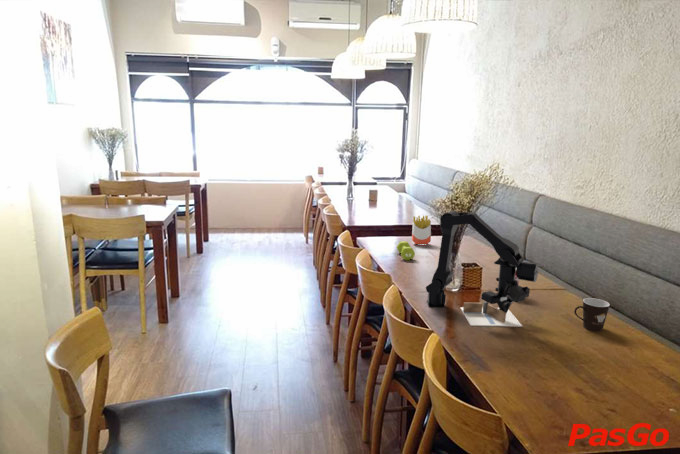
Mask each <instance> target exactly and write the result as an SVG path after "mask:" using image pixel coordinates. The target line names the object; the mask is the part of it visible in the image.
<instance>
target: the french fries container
mask: <svg viewBox="0 0 680 454" xmlns="http://www.w3.org/2000/svg"><path fill="white" fill-rule="evenodd" d="M431 223H432V221H431V219H430V218H429V217H428V215H422V217H421V215H418V217H416V216H413V219H412V229H411V230H412V231H411V241H412V242H413V243H414V244H415V245H416V244H427V245H428V244H430V243H431V241H432V231H431V229H432V226H431V225H432V224H431Z"/></svg>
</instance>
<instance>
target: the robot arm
mask: <svg viewBox="0 0 680 454" xmlns="http://www.w3.org/2000/svg"><path fill="white" fill-rule="evenodd" d="M439 221H440V223H439V224H440V230H441V233H442V234H441V242H440V248H439V256H438V262H437V268H436V269H435V271H434V274H433V277H432V279H431V283H429V284H428V285H427V286H426V287H425V290H426V293H427V299H426V303H427V305H428V307H429V308H445V306H446V305H445V304H446V296H447V295H446V293H445V289H446V288H447V287H448V286H449V285H451V283H452V282H453V276H454V271H451V269H450V264H451V257H452V251H453V245H454V244H453V243H454V238H455V237H454V236H455V233H456V232H457V229H458V227H459V225H469V226H470V227H471V228H473V229H474V230H475V231H476V232H477V233H478V234H479V235H480V236H481V237H483V239H485V240H486V241H487V242H488V243H489V244H491V246H492V248H494V251H495V253H496V254H497V255H498V256H499V258H497V259H496V261H494V262H493V264H494V265H499V269H498V270H499V271H498V272H499V273H498V277H495V280H496V281H497V282H498V284H497V287H495V292H494V291H492V290H488V291H484V292H482V293H481V297H480V298H481V300H483V302H488V304H490V305H495V304H497V306H498V308H499V309H500V310H502V311H504V312H506V313H507V311H508V309H509V310H510V307H511V305H512V304H513V303H517V304H518V303H520V302H524V301H525V300H526V298H529V297H530V294H531V293H530V292H531V291H530V290H531V289H530V287H528V286H521V285H519V286H518V282H517V280H515V272H516V276H517V278H519V280H522V281H527V282H533V283H536V281H537V279H538V275H539V270H538V269H539V268H538V263H537V262H528V261H525V260H524V257H522V254H521V253H520V250H519V247H518V245H517V244H516V243H514V242H513V241H511V240H510V239H507V238H506V237H504V236H502V235H500V234H499V233H498V232H497V231H496V230H494V229H493V228H492V227H491V226H490V225H489V224H488V223H486V222H485V221H484V220H483V219H482V218H481V217H480V216H479V215H478V214H477V213H476V212H475V211H474V212H472V211H471V212H457V211H455V210H451V211H448V212H445V213H443V214H441V216H440V219H439ZM516 268H517V269H516Z"/></svg>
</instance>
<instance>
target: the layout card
mask: <svg viewBox="0 0 680 454" xmlns="http://www.w3.org/2000/svg"><path fill="white" fill-rule="evenodd" d="M459 308H460V310H461V312H462V313H463V315H464V317H465V319H466V320H467V322H468V324H469V326H471V327H511V328H512V327H515V328H516V327H517V328H518V327H520V328H522V327H523V324H521V323H520V321H519V320H518V319H517V318H516V316H515V315H514V314H513V313H512V311H511V310H510V308H509V309H508V311H507V313H506V319H505V322H502V321H500V320H498V319H496V318H494V317H492V316H490V315H489V314H484V313H483V307H482V312H464V311H463V309H464V306H462V307H459ZM497 308H498V309H499V307H497Z"/></svg>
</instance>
